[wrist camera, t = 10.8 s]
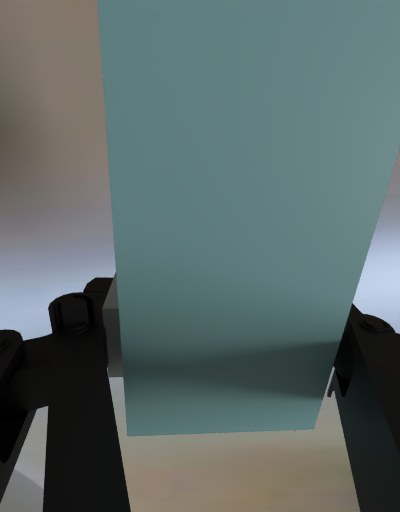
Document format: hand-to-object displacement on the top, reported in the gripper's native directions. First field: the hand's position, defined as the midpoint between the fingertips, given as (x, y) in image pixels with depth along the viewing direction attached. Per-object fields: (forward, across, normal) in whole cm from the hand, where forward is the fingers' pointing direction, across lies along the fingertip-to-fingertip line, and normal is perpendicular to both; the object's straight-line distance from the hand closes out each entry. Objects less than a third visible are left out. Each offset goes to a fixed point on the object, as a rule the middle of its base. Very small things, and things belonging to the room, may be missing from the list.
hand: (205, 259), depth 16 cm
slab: (-4, 0, +4) cm, 5 cm away
